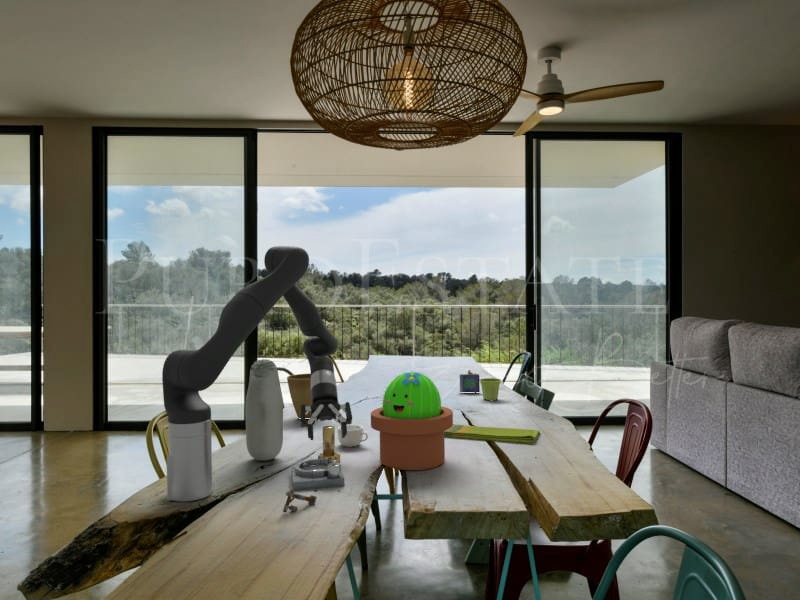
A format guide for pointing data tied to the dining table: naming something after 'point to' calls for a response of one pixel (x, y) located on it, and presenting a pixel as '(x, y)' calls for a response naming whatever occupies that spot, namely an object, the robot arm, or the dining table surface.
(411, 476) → the dining table surface
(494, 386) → the plant pot
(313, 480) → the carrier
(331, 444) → the gear
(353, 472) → the dining table surface
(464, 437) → the dish towel
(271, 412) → the white rounded cylinder
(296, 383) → the plant pot
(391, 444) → the potted cactus
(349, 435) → the teacup
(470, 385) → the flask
